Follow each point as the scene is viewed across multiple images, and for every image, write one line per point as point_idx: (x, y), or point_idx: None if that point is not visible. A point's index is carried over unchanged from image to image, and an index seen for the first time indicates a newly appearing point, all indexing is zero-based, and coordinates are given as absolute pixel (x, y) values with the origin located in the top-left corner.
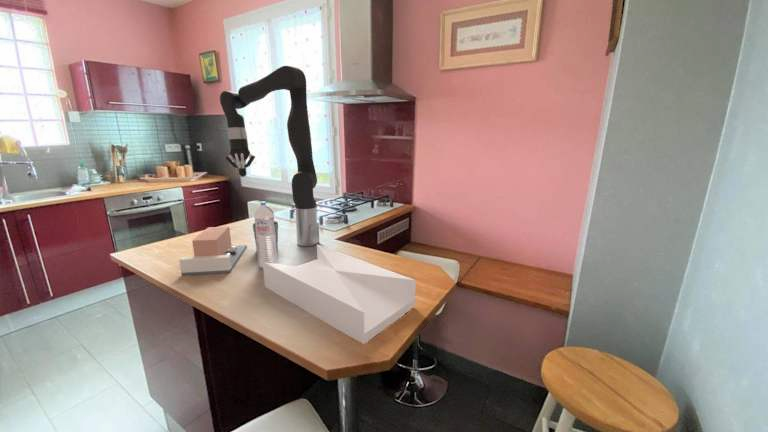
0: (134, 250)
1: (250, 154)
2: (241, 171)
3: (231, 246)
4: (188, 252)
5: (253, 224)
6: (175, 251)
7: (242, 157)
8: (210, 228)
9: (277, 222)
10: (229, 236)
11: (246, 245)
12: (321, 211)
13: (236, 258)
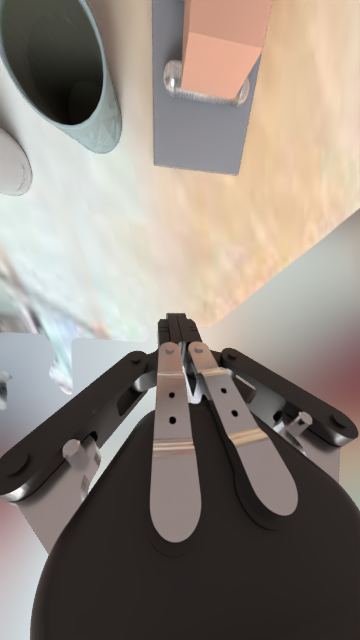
0: (356, 204)
1: (45, 526)
2: (182, 329)
3: (178, 69)
4: (271, 158)
5: (102, 61)
6: (294, 175)
7: (171, 437)
8: (255, 17)
9: (8, 72)
10: (185, 47)
11: (154, 161)
12: (66, 385)
13: (155, 10)
